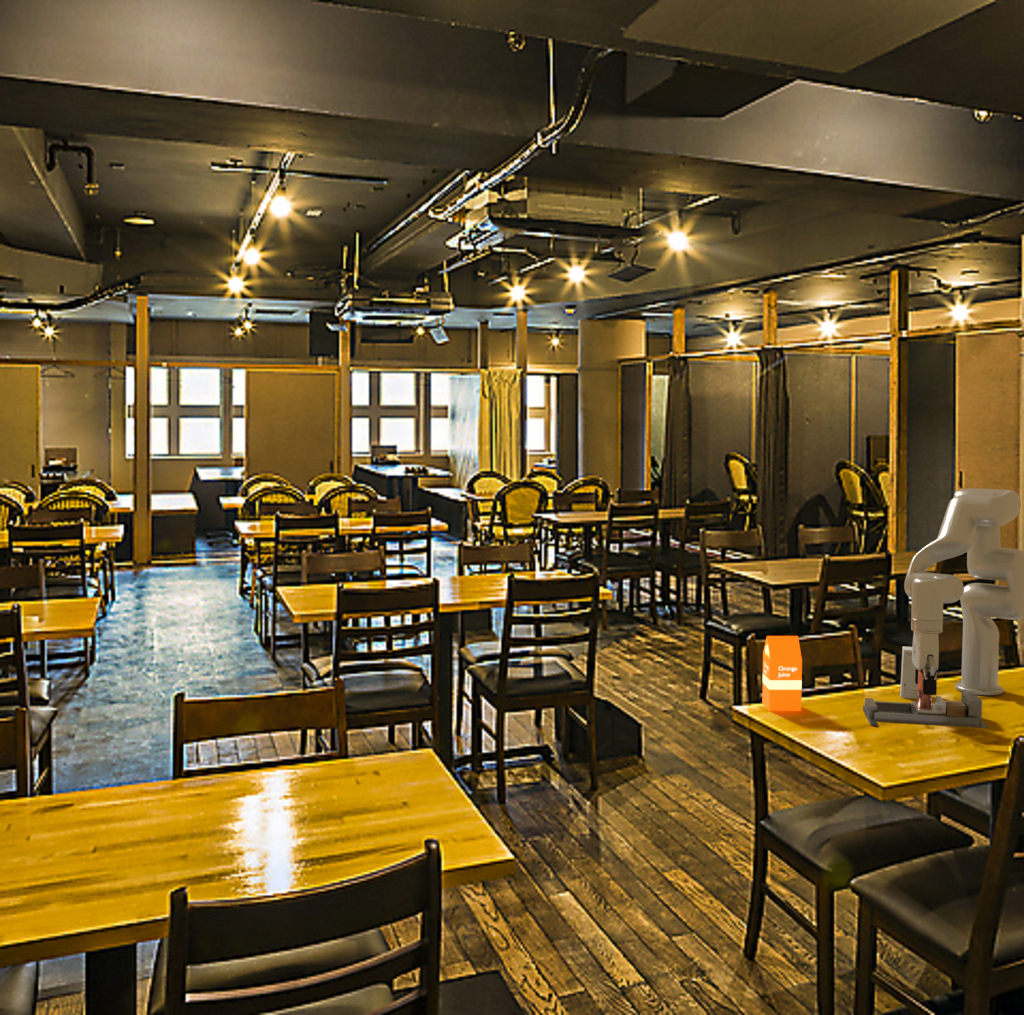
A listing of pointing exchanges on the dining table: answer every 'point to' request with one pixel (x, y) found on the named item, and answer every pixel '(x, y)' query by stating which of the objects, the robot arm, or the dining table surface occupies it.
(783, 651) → the orange juice
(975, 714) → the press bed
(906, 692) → the skincare box
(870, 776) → the dining table surface
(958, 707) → the brown wooden cube
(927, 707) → the ram
